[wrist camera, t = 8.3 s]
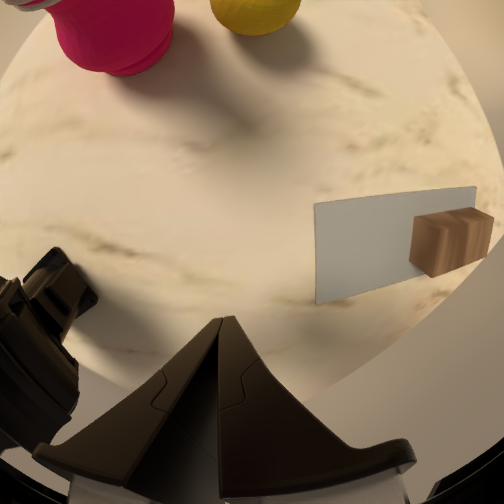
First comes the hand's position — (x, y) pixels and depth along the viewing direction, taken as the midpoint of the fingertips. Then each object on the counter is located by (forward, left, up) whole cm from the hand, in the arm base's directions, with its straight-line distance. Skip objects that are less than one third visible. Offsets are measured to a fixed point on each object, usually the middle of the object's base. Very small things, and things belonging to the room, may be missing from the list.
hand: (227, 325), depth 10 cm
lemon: (+10, +13, -12) cm, 21 cm away
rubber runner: (+17, -12, -12) cm, 24 cm away
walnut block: (+16, -12, -10) cm, 22 cm away
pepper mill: (+2, +16, -12) cm, 20 cm away
